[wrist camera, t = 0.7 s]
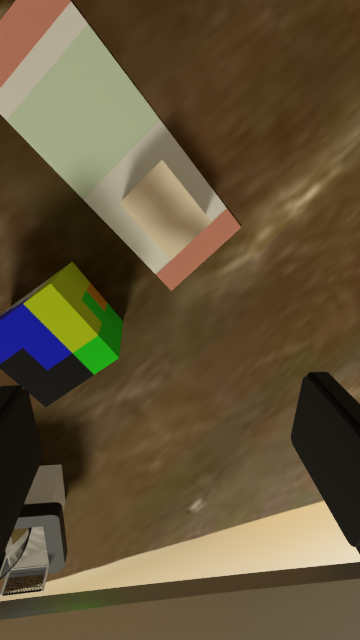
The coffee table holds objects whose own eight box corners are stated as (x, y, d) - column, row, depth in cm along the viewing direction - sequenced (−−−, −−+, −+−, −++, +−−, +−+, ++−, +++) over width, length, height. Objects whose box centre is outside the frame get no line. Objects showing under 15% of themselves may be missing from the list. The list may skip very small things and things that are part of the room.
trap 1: (171, 290, 39) (171, 290, 39) (155, 274, 38) (155, 274, 38) (240, 227, 37) (241, 227, 37) (226, 208, 36) (227, 208, 36)
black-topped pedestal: (-64, 421, 42) (-145, 511, 30) (120, 414, 47) (114, 492, 34) (-27, 542, 53) (-75, 645, 41) (120, 529, 57) (116, 619, 45)
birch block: (167, 252, 37) (171, 260, 33) (121, 202, 34) (119, 203, 30) (203, 219, 36) (212, 222, 32) (158, 164, 33) (162, 159, 29)
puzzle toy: (10, 306, 37) (-31, 342, 28) (72, 261, 36) (50, 283, 27) (65, 360, 41) (45, 407, 32) (123, 321, 40) (118, 357, 31)
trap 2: (-11, 102, 29) (-12, 101, 29) (-40, 73, 28) (-41, 72, 28) (71, 1, 27) (70, 0, 27) (44, -35, 26) (43, -36, 26)
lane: (155, 274, 38) (155, 274, 38) (-11, 102, 29) (-12, 102, 29) (226, 208, 36) (226, 208, 36) (71, 1, 27) (71, 1, 27)
